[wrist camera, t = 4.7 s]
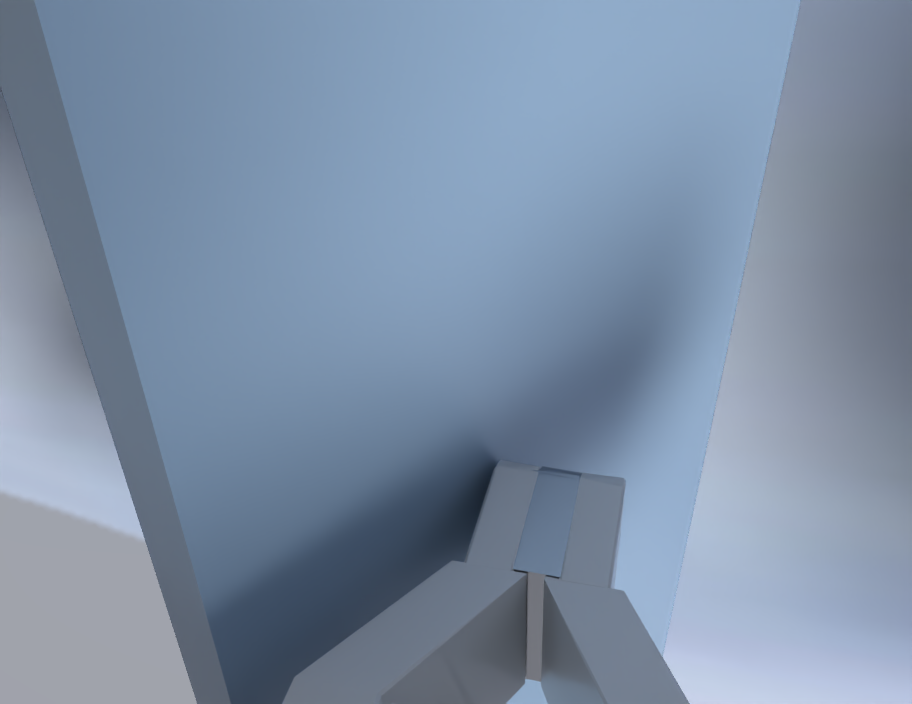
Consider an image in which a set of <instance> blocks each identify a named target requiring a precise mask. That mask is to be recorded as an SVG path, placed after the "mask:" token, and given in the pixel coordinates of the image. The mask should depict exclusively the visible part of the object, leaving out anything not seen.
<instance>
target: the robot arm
mask: <svg viewBox="0 0 912 704" xmlns="http://www.w3.org/2000/svg"><path fill="white" fill-rule="evenodd" d="M625 486H626V480H625V479H624V478H620V477H612V476H605V475H597V474H590V473H580V472H574V471H568V470H562V469H556V468H551V467H545V466H542V467H538V466H533V465H527V464H522V463H516V462H511V461H505V460H500V461H499V462H498V464H497V465H496V466H495V468H494V470H493V473H492V477H491V480H490V483H489V486H488V489H487V492H486V495H485V498H484V502H483V505H482V508H481V511H480V514H479V517H478V520H477V523H476V527H475V530H474V533H473V536H472V539H471V542H470V545H469V548H468V552H467V555H466V558H465V561H464V562H459V561H450V562H449V563H448V564H446V565H445V566H444V567H442V568H441V569H440V570H438V571H437V572H435V573H434V574H433V575H431V576H430V577H429V578H427V579H426V580H425V581H423V582H422V583H421V584H419V585H418V586H417V587H415V588H414V589H413V590H411V591H410V592H408V593H407V594H406V595H404V596H403V597H402V598H400V599H399V600H398V601H396V602H395V603H394V604H392V605H391V606H390V607H388V608H387V609H386V610H384V611H383V612H381V613H380V614H379V615H377V616H376V617H375V618H373V619H372V620H371V621H369V622H368V623H367V624H365V625H364V626H363V627H361V628H360V629H359V630H357V631H356V632H354V633H353V634H352V635H350V636H349V637H348V638H346V639H345V640H344V641H342V642H341V643H340V644H338V645H337V646H336V647H334V648H333V649H332V650H330V651H329V652H327V653H326V654H325V655H323V656H322V657H321V658H319V659H318V660H317V661H315V662H314V663H313V664H311V665H310V666H309V667H307V668H306V669H305V670H303V671H302V672H300V673H299V674H298V675H296V676H295V677H294V679H293V681H292V683H291V686H290V688H289V690H288V692H287V694H286V696H285V699H284V701H283V703H282V704H506V703H507V702H508V701H509V700H510V699H511V698H512V697H513V696H514V695H515V694H516V693H517V691H518V690H519V689H520V688H521V687H522V686H523V685H524V684H525V679H529V680H534V681H539V682H541V687H542V690H543V692H544V695H545V698H546V700H547V703H548V704H689V702H688V700H687V699H686V697H685V695H684V693H683V692H682V690H681V688H680V686H679V685H678V683H677V681H676V680H675V678H674V676H673V674H672V673H671V671H670V669H669V668H668V666H667V664H666V662H665V661H664V659H663V657H662V655H661V654H660V652H659V650H658V649H657V647H656V645H655V643H654V642H653V640H652V638H651V637H650V635H649V633H648V631H647V630H646V628H645V626H644V624H643V623H642V621H641V619H640V618H639V616H638V614H637V612H636V611H635V609H634V607H633V606H632V604H631V602H630V600H629V599H628V597H627V595H626V593H625V592H624V591H622V590H617V589H615V579H616V570H617V561H618V553H619V544H620V535H621V523H622V515H623V507H624V496H625Z"/></svg>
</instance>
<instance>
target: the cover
mask: <svg viewBox="0 0 912 704" xmlns="http://www.w3.org/2000/svg"><path fill="white" fill-rule="evenodd" d="M800 2H801V0H0V87H1V90H2V93H3V96H4V99H5V102H6V105H7V109H8V112H9V115H10V118H11V121H12V124H13V127H14V131H15V134H16V137H17V140H18V143H19V146H20V149H21V152H22V156H23V159H24V162H25V165H26V168H27V171H28V174H29V178H30V181H31V184H32V187H33V190H34V193H35V196H36V199H37V203H38V206H39V209H40V212H41V215H42V218H43V221H44V225H45V228H46V231H47V234H48V237H49V240H50V243H51V247H52V250H53V253H54V256H55V259H56V262H57V265H58V268H59V272H60V275H61V278H62V281H63V284H64V287H65V290H66V294H67V297H68V300H69V303H70V306H71V309H72V312H73V315H74V319H75V322H76V325H77V328H78V331H79V334H80V337H81V341H82V344H83V347H84V350H85V353H86V356H87V359H88V362H89V366H90V369H91V372H92V375H93V378H94V381H95V384H96V388H97V391H98V394H99V397H100V400H101V403H102V406H103V409H104V413H105V416H106V419H107V422H108V425H109V428H110V431H111V435H112V438H113V441H114V444H115V447H116V450H117V453H118V457H119V460H120V463H121V466H122V469H123V472H124V475H125V478H126V482H127V485H128V488H129V491H130V494H131V497H132V500H133V504H134V507H135V510H136V513H137V516H138V519H139V522H140V525H141V529H142V532H143V535H144V538H145V541H146V544H147V547H148V551H149V554H150V557H151V560H152V563H153V566H154V569H155V572H156V576H157V579H158V582H159V585H160V588H161V591H162V594H163V598H164V601H165V604H166V607H167V610H168V613H169V616H170V620H171V623H172V626H173V629H174V632H175V635H176V638H177V641H178V645H179V648H180V651H181V654H182V657H183V660H184V663H185V667H186V670H187V673H188V676H189V679H190V682H191V685H192V688H193V692H194V694H195V698H196V701H197V704H282V703H283V701H284V699H285V696H286V694H287V692H288V690H289V688H290V686H291V683H292V681H293V679H294V677H295V676H296V675H298V674H299V673H300V672H302V671H303V670H305V669H306V668H307V667H309V666H310V665H311V664H313V663H314V662H315V661H317V660H318V659H319V658H321V657H322V656H323V655H325V654H326V653H327V652H329V651H330V650H332V649H333V648H334V647H336V646H337V645H338V644H340V643H341V642H342V641H344V640H345V639H346V638H348V637H349V636H350V635H352V634H353V633H354V632H356V631H357V630H359V629H360V628H361V627H363V626H364V625H365V624H367V623H368V622H369V621H371V620H372V619H373V618H375V617H376V616H377V615H379V614H380V613H381V612H383V611H384V610H386V609H387V608H388V607H390V606H391V605H392V604H394V603H395V602H396V601H398V600H399V599H400V598H402V597H403V596H404V595H406V594H407V593H408V592H410V591H411V590H413V589H414V588H415V587H417V586H418V585H419V584H421V583H422V582H423V581H425V580H426V579H427V578H429V577H430V576H431V575H433V574H434V573H435V572H437V571H438V570H440V569H441V568H442V567H444V566H445V565H446V564H448V563H449V562H450V561H459V562H464V561H465V558H466V555H467V552H468V548H469V545H470V542H471V539H472V536H473V533H474V530H475V527H476V523H477V520H478V517H479V514H480V511H481V508H482V505H483V502H484V498H485V495H486V492H487V489H488V486H489V483H490V480H491V477H492V473H493V470H494V468H495V466H496V465H497V464H498V462H499V461H500V460H505V461H511V462H516V463H522V464H527V465H533V466H538V467H542V466H545V467H551V468H556V469H562V470H568V471H574V472H580V473H590V474H597V475H605V476H612V477H620V478H624V479H625V480H626V486H625V496H624V507H623V515H622V523H621V535H620V544H619V553H618V561H617V570H616V579H615V589H617V590H622V591H624V592H625V593H626V595H627V597H628V599H629V600H630V602H631V604H632V606H633V607H634V609H635V611H636V612H637V614H638V616H639V618H640V619H641V621H642V623H643V624H644V626H645V628H646V630H647V631H648V633H649V635H650V637H651V638H652V640H653V642H654V643H655V645H656V647H657V649H658V650H659V652H660V654H661V655H662V657H663V653H664V648H665V643H666V638H667V634H668V629H669V624H670V619H671V615H672V610H673V605H674V600H675V596H676V591H677V586H678V581H679V577H680V572H681V567H682V562H683V558H684V553H685V548H686V543H687V539H688V534H689V529H690V524H691V520H692V515H693V510H694V505H695V501H696V496H697V491H698V486H699V482H700V477H701V472H702V467H703V463H704V458H705V453H706V448H707V444H708V439H709V434H710V429H711V425H712V420H713V415H714V410H715V406H716V401H717V396H718V391H719V387H720V382H721V377H722V372H723V368H724V363H725V358H726V353H727V349H728V344H729V339H730V334H731V330H732V325H733V320H734V315H735V311H736V306H737V301H738V296H739V292H740V287H741V282H742V277H743V273H744V268H745V263H746V258H747V254H748V249H749V244H750V239H751V235H752V230H753V225H754V220H755V216H756V211H757V206H758V201H759V197H760V192H761V187H762V182H763V178H764V173H765V168H766V163H767V159H768V154H769V149H770V144H771V140H772V135H773V130H774V125H775V121H776V116H777V111H778V106H779V102H780V97H781V92H782V87H783V83H784V78H785V73H786V68H787V64H788V59H789V54H790V49H791V45H792V40H793V35H794V30H795V26H796V21H797V16H798V11H799V7H800ZM506 704H548V703H547V700H546V698H545V695H544V692H543V690H542V687H541V682H539V681H534V680H529V679H525V684H524V685H523V686H522V687H521V688H520V689H519V690H518V691H517V693H516V694H515V695H514V696H513V697H512V698H511V699H510V700H509V701H508V702H507V703H506Z"/></svg>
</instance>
